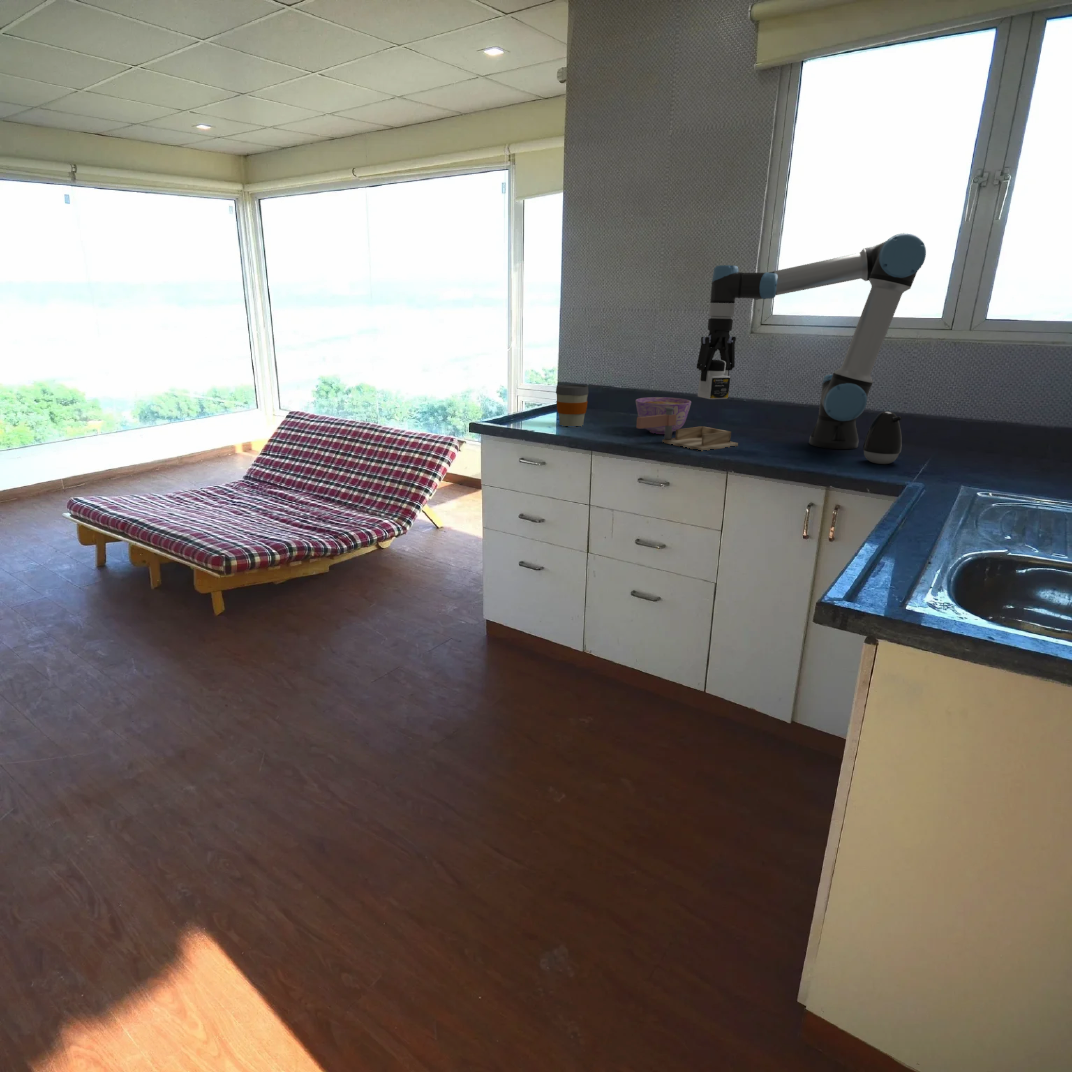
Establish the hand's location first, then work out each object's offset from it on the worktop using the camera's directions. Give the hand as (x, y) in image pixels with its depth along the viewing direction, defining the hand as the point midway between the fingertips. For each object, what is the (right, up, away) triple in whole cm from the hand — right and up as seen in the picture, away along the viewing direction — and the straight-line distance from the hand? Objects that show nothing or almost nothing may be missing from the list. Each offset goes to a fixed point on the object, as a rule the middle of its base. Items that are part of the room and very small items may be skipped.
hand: (713, 390), depth 225 cm
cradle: (-2, -16, +7) cm, 18 cm away
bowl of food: (-12, -10, +28) cm, 32 cm away
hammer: (-18, -16, +6) cm, 25 cm away
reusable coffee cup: (-44, -5, +42) cm, 61 cm away
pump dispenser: (+45, -26, -19) cm, 55 cm away
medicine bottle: (0, -2, +1) cm, 2 cm away
